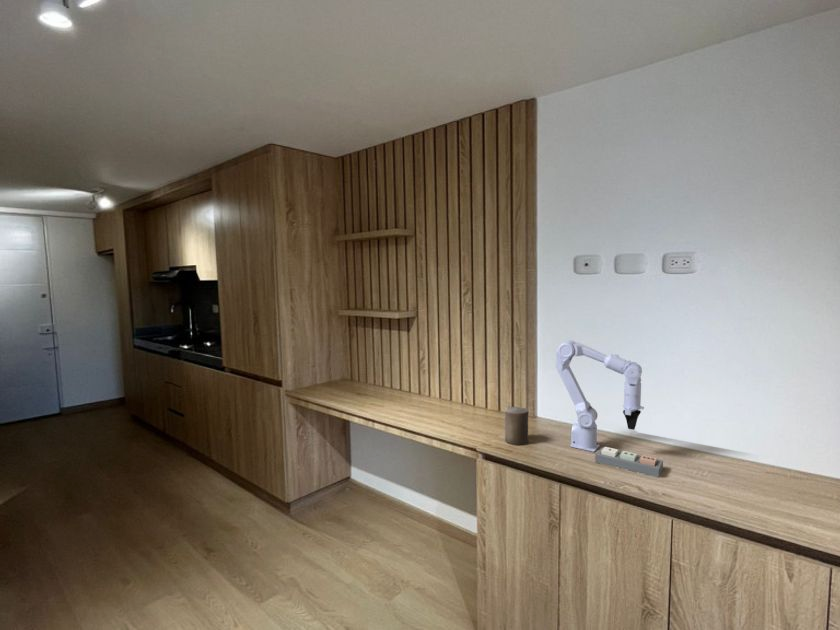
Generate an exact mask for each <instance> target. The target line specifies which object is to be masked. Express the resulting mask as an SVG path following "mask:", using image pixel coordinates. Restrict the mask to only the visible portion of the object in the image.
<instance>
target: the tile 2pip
mask: <svg viewBox="0 0 840 630" xmlns="http://www.w3.org/2000/svg"><path fill="white" fill-rule="evenodd" d="M621 452H622V453H621V454H620V458H621V459H625V460H629V461H634V462H635V461H636V460H637V455H638V453H636V452H631V451H627V450H622V451H621Z"/></svg>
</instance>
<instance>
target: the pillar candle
mask: <svg viewBox="0 0 840 630" xmlns="http://www.w3.org/2000/svg"><path fill="white" fill-rule="evenodd" d="M504 410H505V411H504V441H505V442H506V443H507V444H509V445H513V446H524V445H527V444H528V443H529V409H527V408H525V407H521V406H509V407H506V408H505V409H504Z"/></svg>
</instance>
